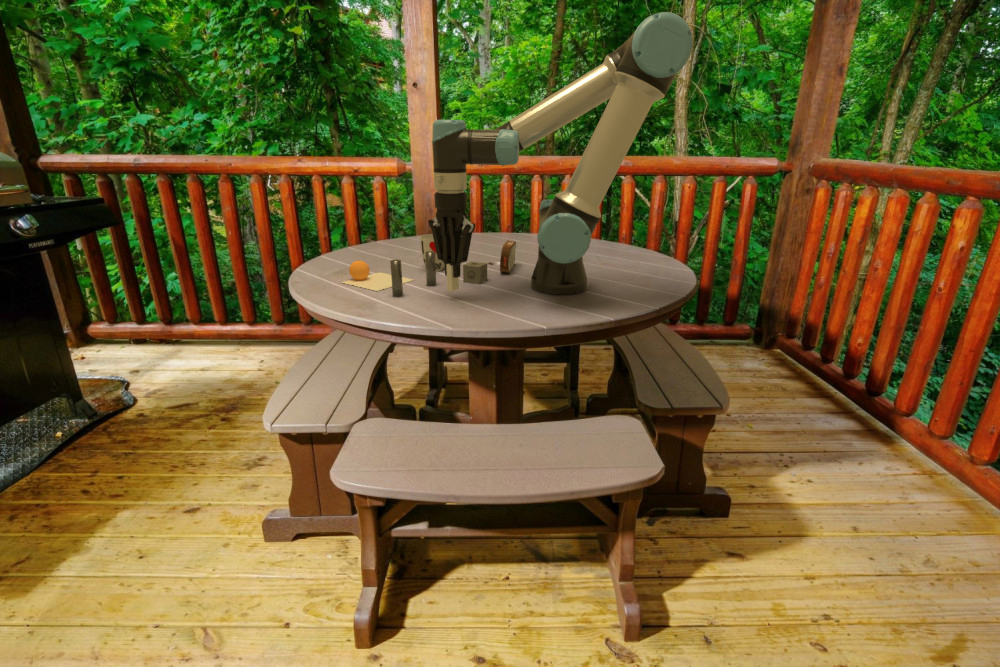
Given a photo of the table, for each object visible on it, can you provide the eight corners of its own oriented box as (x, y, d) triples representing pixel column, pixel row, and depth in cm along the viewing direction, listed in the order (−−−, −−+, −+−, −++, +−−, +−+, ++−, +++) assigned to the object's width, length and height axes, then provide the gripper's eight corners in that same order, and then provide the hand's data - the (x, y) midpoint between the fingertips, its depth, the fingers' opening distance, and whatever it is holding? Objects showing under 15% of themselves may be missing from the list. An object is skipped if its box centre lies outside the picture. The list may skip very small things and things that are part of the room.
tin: (507, 264, 167) (507, 237, 164) (516, 264, 167) (517, 238, 164) (498, 275, 153) (499, 247, 150) (509, 276, 153) (509, 247, 150)
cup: (416, 271, 157) (415, 237, 154) (429, 265, 165) (427, 233, 161) (441, 273, 155) (440, 239, 151) (452, 267, 162) (452, 235, 158)
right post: (438, 284, 144) (437, 251, 140) (431, 286, 142) (430, 253, 138) (431, 283, 145) (429, 250, 142) (424, 285, 143) (423, 252, 140)
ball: (375, 278, 148) (372, 259, 146) (359, 283, 144) (356, 263, 142) (362, 277, 151) (359, 258, 149) (346, 281, 147) (343, 261, 145)
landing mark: (414, 280, 148) (414, 279, 147) (376, 291, 137) (376, 290, 137) (379, 272, 155) (379, 272, 155) (341, 283, 144) (341, 282, 144)
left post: (405, 295, 134) (403, 260, 131) (397, 297, 132) (395, 262, 129) (397, 293, 135) (395, 259, 132) (390, 295, 133) (388, 260, 130)
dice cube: (471, 278, 150) (471, 261, 149) (487, 280, 149) (487, 263, 147) (463, 282, 146) (463, 265, 144) (479, 284, 144) (479, 266, 142)
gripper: (418, 190, 123) (423, 288, 131) (462, 194, 116) (464, 297, 124) (440, 188, 129) (443, 282, 137) (482, 191, 122) (483, 290, 130)
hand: (453, 289), depth 131 cm, fingers closed
